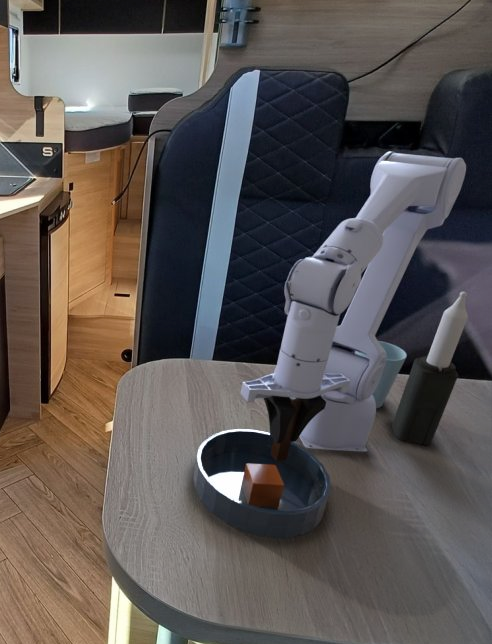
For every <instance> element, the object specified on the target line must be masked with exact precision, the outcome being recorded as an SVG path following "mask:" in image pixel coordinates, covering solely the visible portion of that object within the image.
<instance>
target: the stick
mask: <svg viewBox="0 0 492 644" xmlns="http://www.w3.org/2000/svg"><path fill="white" fill-rule="evenodd" d="M289 399H291V403H292V404H293V405H294V406H295V407H296V408H297V409H298V411H297V412H296V413H295V414H294V416H293V417H292V419H291V421H290V423H289V425H288V428H287V431H286V435H285V438H284V440H283V442H282V443H276V442H275V440H274V441H273V445H272V450H271V454H270V455H271V456H272V457H273V458H274V460H275V461H276V462H278V461H286V460H287V456H288V452H289V448H290V444H291V440H292V436H293V432H294V428H295V424H296V420H297V416H298V412H299V409H300V405H301V400H300V399H299V398H292V397H290V398H289Z"/></svg>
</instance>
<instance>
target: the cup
mask: <svg viewBox="0 0 492 644" xmlns="http://www.w3.org/2000/svg"><path fill="white" fill-rule="evenodd" d="M377 341H378V342H379V343H380V345H381V346H382V348H383V349H384V350H385V352H386V356H387V361H386V363H385V366H384V368H383V372H382V376H381V379H380V382H379V384H378V386H377V388H376V390H375V391H374V393H373V394H372V395H373V397H374V399H375V403H376V409H379V408H381V407H382V406H383V405H384V403H385V401H386V398H387V396H388V395H389V392H390V391H391V389H392V386H393V384H394V383H395V380H396V379H397V377H398V374H399V373H400V371H401V369H402V367H403V365H404V363H405V361H406V359H407V357H408V356H407V352H406V351H405V350H404V349H402V348H400V347H399V346H397V345H396V344H392V343H389V342H386V341H382V340H377ZM354 354H357V355H360V356H363V357H366V358H368V359H369V357H368V355H366V354H363V353H360V352H357V351H355V350H354Z"/></svg>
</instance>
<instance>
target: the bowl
mask: <svg viewBox="0 0 492 644" xmlns="http://www.w3.org/2000/svg"><path fill="white" fill-rule="evenodd" d="M273 441H274V439H273V438H272V437H271V436H270V432H268V431H262V430H257V429H247V428H236V429H234V428H233V429H227V430H226V429H225V430H222V431H219V432H216V433H213V434H212V435H210V436H208V437H207V438H205V439H204V440H203V441H202V442H201V444H200V445H199V447H198V448H197V452H196V458H195V464H194V470H193V477H192V480H193V481H192V482H193V487H194V491H195V493H196V495H197V497H198V498H199V500H200V502H201V503H202V504H203V505H204V506H205V508H206V509H207V510H208V511H210V512H211V513H212V514H213V515H214V516H216V517H217V518H218V519H219V520H221V521H222V522H224V523H226V524H227V525H229V526H232V527H233V528H235V529H237V530H240V531H242V532H245V533H249V534H251V535H255V536H260V537H265V538H272V539H273V538H274V539H286V538H294V537H298V536H302V535H304V534H307V533H309V532H310V531H312V530H314V529H315V528H316V527H317V526H318V524H320V523H321V521H322V520H323V516H324V514H325V510H326V506H327V504H328V500H329V497H330V494H331V491H332V483H331V478H330V475H329V473H328V471H327V470H326V468H325V465H324V464H323V463H322V462H321V461H320V460H319V459H318V458H317V457H316V456H315V455H314V454H313V453H312V452H310V451H309V450H308V449H307V448H305V447H303V446H302V445H300V444H298V443H297V442H292V441H291V444H290V448H289V452H288V456H287V460H286V461H278V462H276V461H275V460H274V458H273V457H272V456H271V455H270V454H271V450H272V445H273ZM246 463H249V464H266V465H276V467H277V470H278V472H279V474H280V477H281V479H282V481H283V483H284V488H283V492H282V496H281V500H280V503H279V507H278V508H270V507H255V506H251V505H249V504H247V501H246V498H245V495H244V492H243V489H242V486H241V485H242V480H243V475H244V471H245V466H246Z"/></svg>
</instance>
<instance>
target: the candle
mask: <svg viewBox="0 0 492 644" xmlns="http://www.w3.org/2000/svg"><path fill="white" fill-rule="evenodd" d="M467 296H468V293H467V292H466V291H461V292H460V293H459V296H458V298H457V299H456V300H455V302H454V303H453V304H452V305H450V306H449V307H448V308H447V309H445V310H444V311H443V314H442V316H441V319H440V322H439V325H438V327H437V330H436V332H435V335H434V338H433V342H432V344H431V346H430V349H429V351H428V354H427V355H423V356H421V357H416V358H415V359H414V361H413V363H412V367H411V369H410V373H409V375H408V378H407V381H406V383H405V387H404V389H403V391H402V394H401V398H400V400H399V404H398V406H397V409H396V412H395V414H394V418H393V420H392V423H391V429H392V431H393V434H394V436H395V438H396V439H397V440H399V441H402V442H405V443H406V442H408V443H413V444H418V445H422V446H426V447H427V446H431V445H432V442H433V441H434V438H435V435H436V432H437V430H438V427H439V425H440V423H441V420H442V417H443V416H444V415H443V414H444V413H445V409H446V408H447V405H448V402H449V400H450V398H451V395H452V392H453V390H454V388H455V385H456V383H457V380H458V378H459V374H458V372H457V370H456V365H455V364H454V363H453V362H452V359H453V357H454V354H455V351H456V349H457V346H458V345H459V341H460V338H461V336H462V334H463V330H464V328H465V325H466V323H467V321H468V318H469V315H468V312H467V310H466V297H467Z"/></svg>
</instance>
